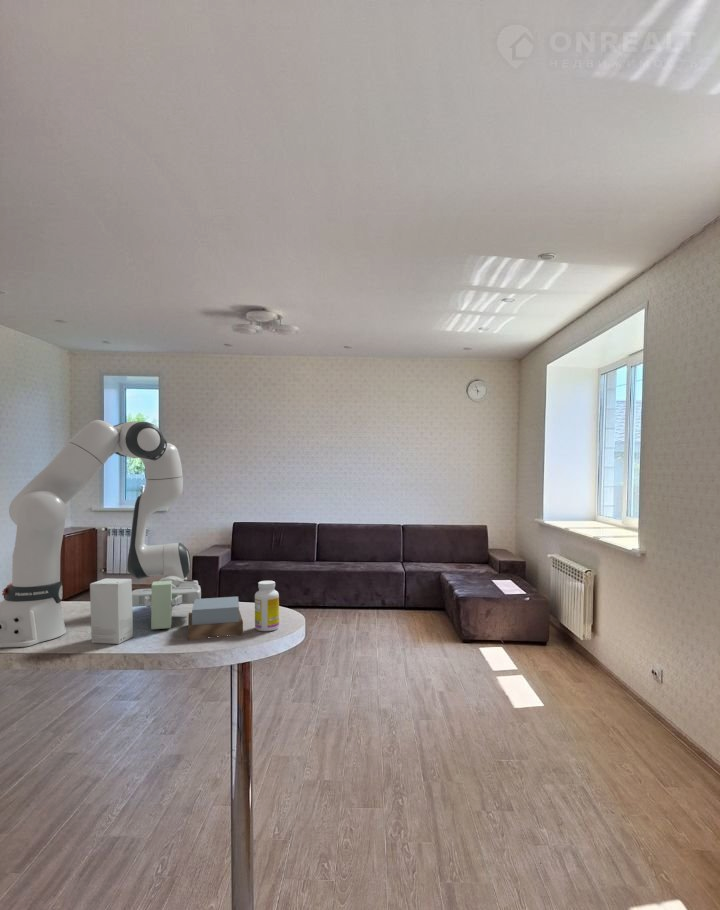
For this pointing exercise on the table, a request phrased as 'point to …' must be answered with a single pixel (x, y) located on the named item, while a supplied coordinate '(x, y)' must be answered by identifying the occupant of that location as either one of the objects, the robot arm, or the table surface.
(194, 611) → the tower top block
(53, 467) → the robot arm
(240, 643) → the table surface
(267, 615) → the supplement bottle
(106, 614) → the skincare box
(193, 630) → the tower bottom block
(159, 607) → the sage block
